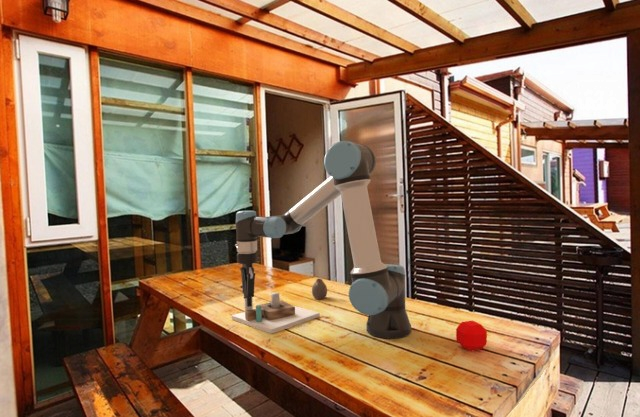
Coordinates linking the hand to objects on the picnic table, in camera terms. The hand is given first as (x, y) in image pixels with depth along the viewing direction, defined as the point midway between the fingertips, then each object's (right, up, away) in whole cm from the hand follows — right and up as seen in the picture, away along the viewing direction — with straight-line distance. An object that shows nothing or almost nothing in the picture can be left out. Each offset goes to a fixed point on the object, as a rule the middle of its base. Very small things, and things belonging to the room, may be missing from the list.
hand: (248, 314), depth 149 cm
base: (+10, -3, +4) cm, 11 cm away
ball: (+73, -3, -29) cm, 78 cm away
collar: (+7, -1, +2) cm, 7 cm away
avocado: (+27, -1, +31) cm, 41 cm away
